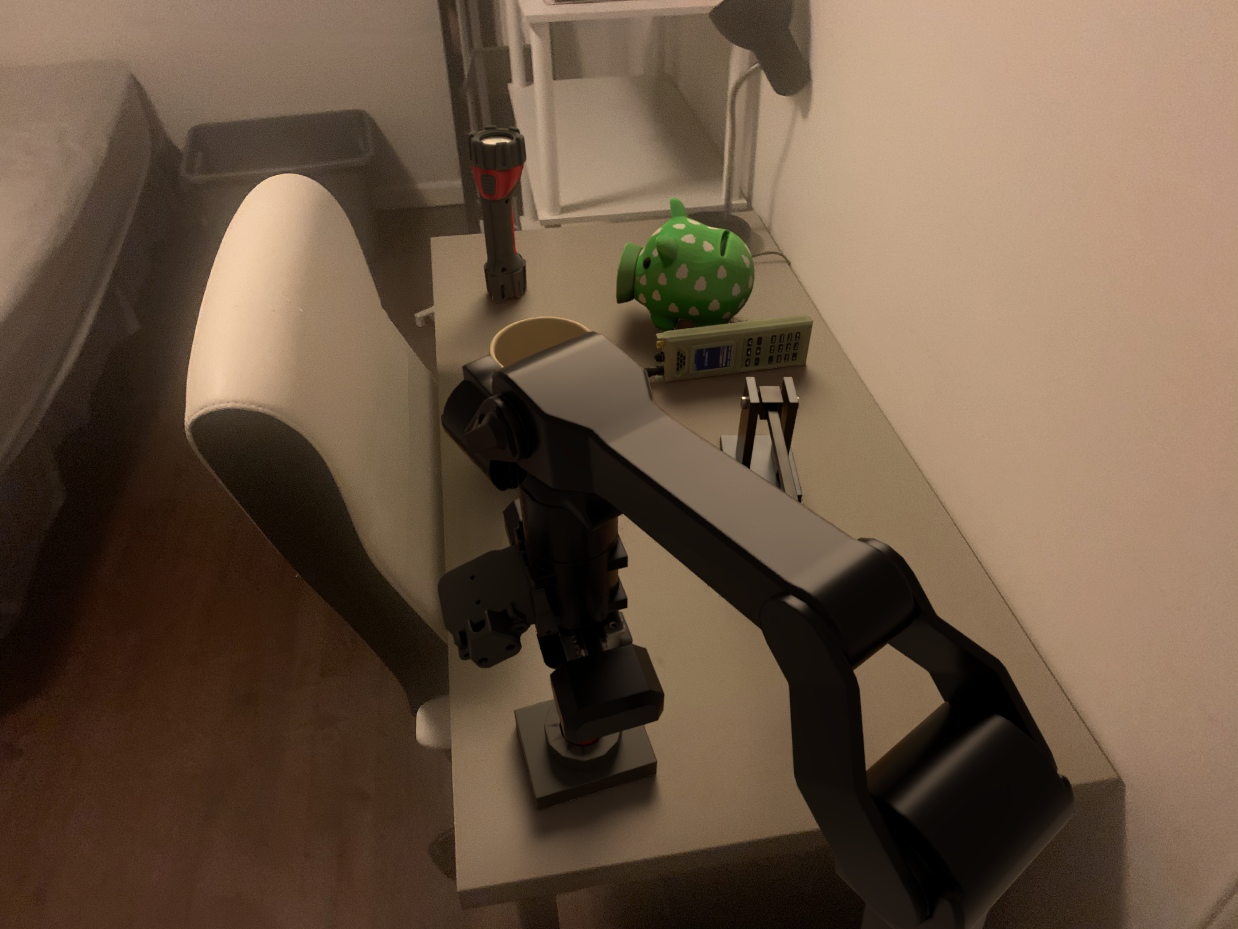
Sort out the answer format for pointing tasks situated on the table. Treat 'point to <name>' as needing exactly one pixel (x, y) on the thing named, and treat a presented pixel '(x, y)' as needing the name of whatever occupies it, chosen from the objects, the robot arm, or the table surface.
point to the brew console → (578, 757)
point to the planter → (532, 337)
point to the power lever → (777, 435)
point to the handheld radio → (732, 348)
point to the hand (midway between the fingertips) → (580, 670)
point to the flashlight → (499, 206)
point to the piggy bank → (687, 273)
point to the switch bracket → (759, 447)
